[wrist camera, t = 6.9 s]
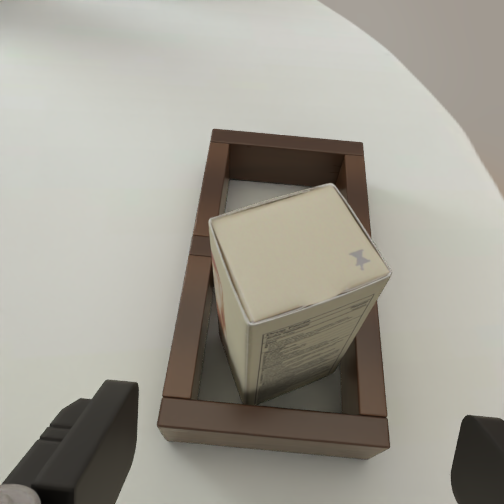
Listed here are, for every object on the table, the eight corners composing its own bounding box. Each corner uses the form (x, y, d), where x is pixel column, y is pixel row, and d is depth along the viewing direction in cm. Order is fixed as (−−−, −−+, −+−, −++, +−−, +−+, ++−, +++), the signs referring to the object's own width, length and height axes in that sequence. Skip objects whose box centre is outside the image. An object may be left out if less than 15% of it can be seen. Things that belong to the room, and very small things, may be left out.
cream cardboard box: (300, 301, 24) (340, 177, 16) (336, 374, 22) (404, 277, 14) (211, 330, 23) (203, 213, 14) (239, 411, 21) (248, 329, 12)
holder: (368, 459, 20) (391, 448, 17) (165, 440, 20) (156, 426, 17) (350, 177, 29) (363, 141, 27) (213, 164, 30) (212, 127, 27)
